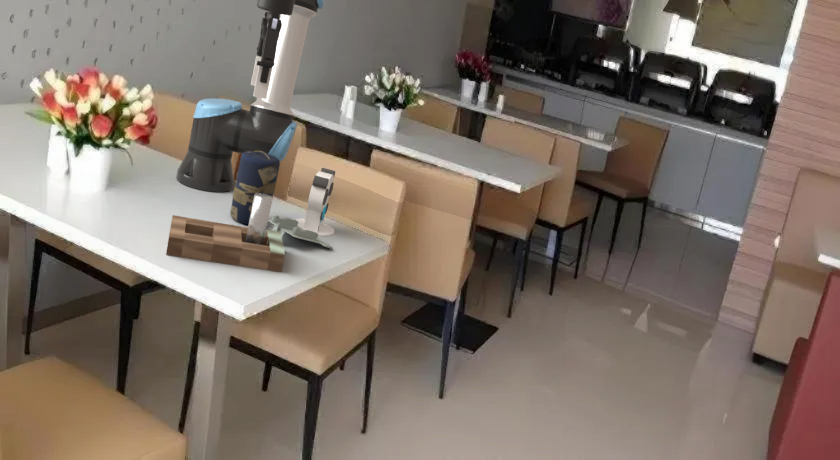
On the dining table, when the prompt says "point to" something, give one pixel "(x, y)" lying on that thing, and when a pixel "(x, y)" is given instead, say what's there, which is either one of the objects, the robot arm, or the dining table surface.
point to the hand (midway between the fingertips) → (258, 91)
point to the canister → (253, 182)
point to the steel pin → (259, 218)
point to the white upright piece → (319, 204)
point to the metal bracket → (295, 230)
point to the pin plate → (223, 244)
